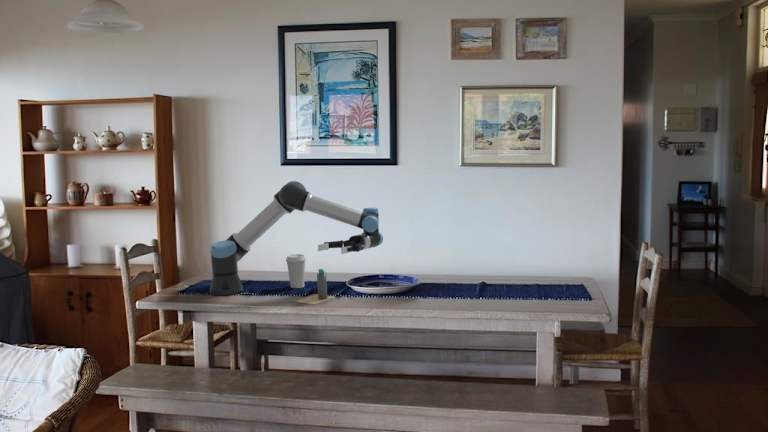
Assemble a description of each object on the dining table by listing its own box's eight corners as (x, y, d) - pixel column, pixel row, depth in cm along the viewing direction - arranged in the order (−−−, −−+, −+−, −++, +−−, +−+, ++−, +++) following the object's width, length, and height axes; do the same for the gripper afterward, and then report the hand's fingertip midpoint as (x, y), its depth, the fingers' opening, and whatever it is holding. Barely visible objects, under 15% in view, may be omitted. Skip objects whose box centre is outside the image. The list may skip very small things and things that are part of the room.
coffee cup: (303, 289, 317) (302, 257, 316) (284, 288, 319) (282, 257, 317) (310, 284, 327) (308, 253, 325) (291, 284, 329) (289, 253, 327)
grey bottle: (316, 299, 297) (314, 270, 295) (322, 296, 300) (320, 268, 298) (323, 300, 294) (321, 270, 293) (329, 297, 297) (327, 269, 296)
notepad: (293, 301, 295) (293, 300, 295) (314, 294, 306) (314, 293, 306) (314, 304, 288) (314, 304, 288) (335, 297, 299) (335, 296, 299)
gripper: (338, 232, 328) (309, 238, 311) (380, 237, 314) (351, 243, 297) (338, 248, 329) (309, 255, 312) (380, 252, 315) (352, 260, 298)
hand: (330, 249), depth 304 cm, fingers open, 13 cm apart
